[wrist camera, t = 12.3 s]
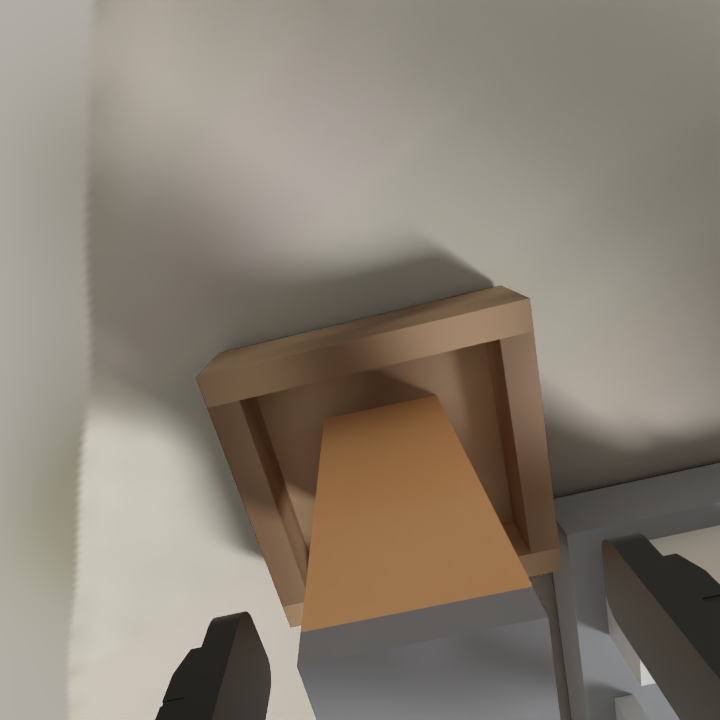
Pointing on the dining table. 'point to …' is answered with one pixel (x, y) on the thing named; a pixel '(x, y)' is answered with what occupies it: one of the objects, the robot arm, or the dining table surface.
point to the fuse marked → (416, 582)
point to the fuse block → (587, 587)
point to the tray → (381, 388)
